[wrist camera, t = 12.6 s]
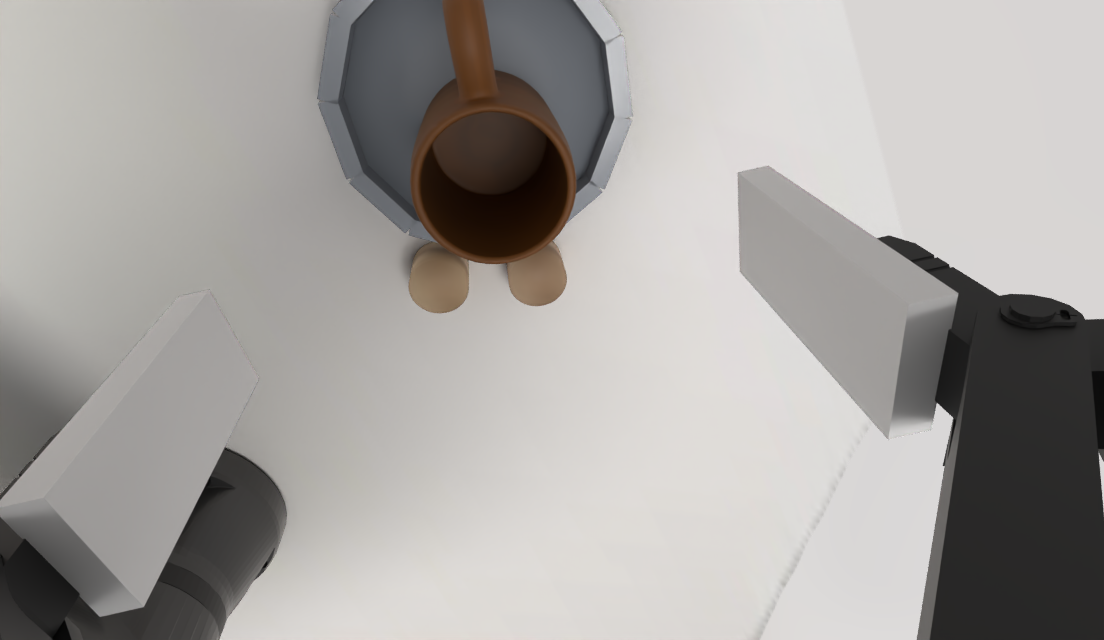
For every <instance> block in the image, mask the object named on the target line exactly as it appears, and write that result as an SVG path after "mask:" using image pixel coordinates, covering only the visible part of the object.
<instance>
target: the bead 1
mask: <svg viewBox="0 0 1104 640" xmlns="http://www.w3.org/2000/svg"><path fill="white" fill-rule="evenodd" d="M468 289H469V264H468V260H467V259H464V258H462V257H459V256H457V255H455V254H453V253H451V252H450V251H448V250H447V249H445V248H444V247H442V246H441V245H440V244H439V243H436V242H431V243H428V244H426V245H424V246H423V247H421V248H420V249H419V250H418V251H417V253H416V254H415V256H414V259H413V264H412V269H411V274H410V279H409V292H410V295H411V297H412V299H413V301H414V302H415V303H416V304H417V305H418V306H419V307H421V308H422V309H424V310H426V311H429V312H433V313H446V312H450V311H453V310H455V309H457V308H458V307H459V306H460V305H462V303H463V302H464V301H465V299H466V297H467V295H468Z"/></svg>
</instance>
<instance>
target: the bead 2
mask: <svg viewBox="0 0 1104 640" xmlns="http://www.w3.org/2000/svg"><path fill="white" fill-rule="evenodd" d="M507 271H508V280H509V287H510V290H511V292H512V294H513V295H514V296H515V298H516V299H518V300H519V301H520V302H522V303H524V304H527V305H531V306H542V305H546V304H549V303H551V302H553V301H555V300H556V299H557V298H558V297H559V296H560V295H561V294H562V292H563V291H564V289H565V286H566V282H567V276H566V271H565V268H564V265H563V262H562V258H561V255H560V252H559V249H558V247H557V246H556V245H555V243H554V242H553V241H552V242H551V243H549V244H548V245H547V246H546V247H545V248H543V249H542V250H540V251H539V252H537V253H535V254H533V255H531V256H529V257H527V258H524V259H521V260H519V261H515V262H510V263H507Z"/></svg>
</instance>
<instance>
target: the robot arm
mask: <svg viewBox="0 0 1104 640" xmlns="http://www.w3.org/2000/svg"><path fill="white" fill-rule="evenodd" d="M738 211H739V256H740V272H741V274H742V275H743V276H744V277H745V278H746V279H747V280H748V281H749V283H750V284H751V285H752V286H753V287H754V288H755V289H756V291H757V292H758V293H759V294H760V295H761V296H762V297H763V298H764V300H765V301H766V302H767V303H768V304H769V305H770V306H771V308H772V309H773V310H774V311H775V312H776V313H777V314H778V315H779V317H780V318H781V319H782V320H783V321H784V322H785V323H786V325H787V326H788V327H789V328H790V329H791V330H792V331H793V332H794V334H795V335H796V336H797V337H798V338H799V339H800V340H801V342H802V343H803V344H804V345H805V346H806V347H807V348H808V349H809V351H810V352H811V353H812V354H813V355H814V356H815V357H816V358H817V360H818V361H819V362H820V363H821V364H822V365H823V366H824V368H825V369H826V370H827V371H828V372H829V373H830V374H831V375H832V377H833V378H834V379H835V380H836V381H837V382H838V383H839V385H840V386H841V387H842V388H843V389H844V390H845V391H846V392H847V394H848V395H849V396H850V397H851V398H852V399H853V400H854V402H855V403H856V404H857V405H858V406H859V407H860V408H861V409H862V411H863V412H864V413H865V414H866V415H867V416H868V417H869V419H870V420H871V421H872V422H873V423H874V424H875V425H876V426H877V428H878V429H879V430H880V431H881V432H882V433H883V434H884V435H885V437H886V438H887V439H893V438H898V437H902V436H907V435H911V434H916V433H920V432H925V431H929V430H931V428H932V423H933V418H934V414H935V408H936V404H937V403H938V404H939V405H940V406H942V408H943V409H945V410H946V411H947V412H948V413H949V414H950V415H951V416H952V417H953V422H952V427H951V431H950V436H949V440H948V445H947V450H946V454H945V459H944V463H943V466H945V468H944V474H943V480H942V487H941V493H940V499H939V505H938V512H937V518H936V524H935V530H934V536H933V542H932V548H931V555H930V561H929V567H928V573H927V580H926V586H925V592H924V599H923V604H922V611H921V617H920V623H919V630H918V635H917V640H1104V512H1103V500H1102V490H1101V477H1100V466H1099V454H1098V452H1099V453H1100V455H1101V457H1102V459H1103V461H1104V319H1094V320H1085V319H1084V317H1083V315H1082V314H1081V313H1080V312H1078V311H1077V310H1075V309H1074V308H1073V307H1071V306H1070V305H1067V304H1065V303H1062V302H1059V301H1056V300H1054V299H1051V298H1045V297H1040V296H1035V295H1025V294H1024V295H1023V294H1008V295H1002V296H999V295H997V294H995V293H994V292H992V291H991V290H989V289H987V288H986V287H984V286H983V285H981V284H979V283H978V282H976V281H975V280H973V279H971V278H970V277H968V276H967V275H965V274H963V273H962V272H960V271H958V270H957V269H955V268H954V267H952V268H950V267H949V264H947V263H946V262H944V261H942V260H941V259H939V258H938V257H937V258H934V255H933V254H931V253H930V252H928V251H926V250H925V249H923V248H922V247H920V246H918V245H917V244H915V243H912V242H909V241H905V240H902V239H899V238H896V237H892V236H885V237H880V238H875V237H874V236H872V235H871V234H869V233H868V232H866V231H865V230H863V229H862V228H860V227H859V226H857V225H856V224H854V223H853V222H851V221H850V220H848V219H847V218H846V217H844V216H843V215H841V214H840V213H838V212H837V211H835V210H834V209H832V208H831V207H829V206H828V205H826V204H825V203H823V202H822V201H820V200H819V199H817V198H816V197H814V196H813V195H811V194H810V193H808V192H807V191H805V190H804V189H802V188H801V187H799V186H798V185H796V184H795V183H793V182H792V181H790V180H789V179H787V178H786V177H784V176H783V175H781V174H780V173H778V172H777V171H775V170H774V169H772V168H771V167H769V166H765V167H760V168H756V169H751V170H747V171H742V172H738ZM258 381H259V377H258V375H257V373H256V372H255V370H254V368H253V366H252V364H251V363H250V361H249V359H248V357H247V355H246V354H245V352H244V350H243V348H242V346H241V345H240V343H239V341H238V339H237V337H236V336H235V334H234V332H233V330H232V328H231V327H230V325H229V323H228V321H227V319H226V318H225V316H224V314H223V312H222V311H221V309H220V307H219V305H218V303H217V302H216V300H215V298H214V296H213V294H212V293H211V291H210V290H205V291H201V292H196V293H192V294H187V295H183V296H179V297H178V298H177V299H176V300H175V301H174V302H173V303H172V305H171V306H170V307H169V308H168V309H167V310H166V311H165V313H164V314H163V315H162V316H161V317H160V318H159V319H158V321H157V322H156V323H155V324H154V325H153V326H152V327H151V329H150V330H149V331H148V332H147V333H146V334H145V335H144V337H143V338H142V339H141V340H140V341H139V342H138V343H137V345H136V346H135V347H134V348H133V349H132V350H131V351H130V353H129V354H128V355H127V356H126V357H125V358H124V359H123V361H122V362H121V363H120V364H119V365H118V366H117V367H116V369H115V370H114V371H113V372H112V373H111V374H110V375H109V377H108V378H107V379H106V380H105V381H104V382H103V383H102V385H101V386H100V387H99V388H98V389H97V390H96V391H95V393H94V394H93V395H92V396H91V397H90V398H89V399H88V401H87V402H86V403H85V404H84V405H83V406H82V407H81V409H80V410H79V411H78V412H77V413H76V414H75V415H74V417H73V418H72V419H71V420H70V421H69V422H68V423H67V424H66V426H65V427H64V428H63V429H62V430H61V431H59V432H58V433H57V434H55V435H54V436H53V437H51V438H50V439H49V441H48V442H47V443H46V444H45V445H44V446H43V447H42V449H41V450H40V451H39V452H38V453H37V454H36V455H35V456H34V461H31V462H29V463H28V464H27V465H26V467H25V468H24V469H23V470H22V471H21V472H20V473H19V478H15V479H14V480H13V481H12V482H11V484H10V485H9V486H8V487H7V488H6V489H5V490H4V492H3V493H2V494H1V495H0V640H219V639H220V636H221V633H222V631H223V628H224V625H225V623H226V620H227V618H228V617H229V615H230V614H231V613H232V611H233V610H234V609H235V607H236V606H237V605H238V603H239V602H240V601H241V599H242V598H243V596H244V595H245V593H246V592H247V590H248V589H249V587H250V585H251V584H252V582H253V581H254V580H255V579H256V578H258V577H259V576H260V575H261V574H262V573H263V572H264V571H265V569H266V568H267V567H268V566H269V564H270V563H271V561H272V560H273V558H274V556H275V554H276V552H277V550H278V547H279V544H280V541H281V538H282V535H283V532H284V529H285V525H286V509H285V504H284V501H283V499H282V496H281V494H280V493H279V491H278V489H277V488H276V486H275V485H274V484H273V482H272V481H271V480H270V479H269V478H268V477H267V476H266V475H265V474H264V473H263V472H262V471H261V470H259V469H258V468H257V467H256V466H254V465H253V464H251V463H250V462H248V461H247V460H245V459H244V458H242V457H240V456H238V455H236V454H234V453H232V452H230V451H227V450H225V449H224V448H225V446H226V444H227V442H228V440H229V438H230V436H231V434H232V432H233V430H234V428H235V426H236V424H237V422H238V420H239V418H240V416H241V414H242V412H243V410H244V408H245V406H246V404H247V402H248V400H249V398H250V396H251V394H252V392H253V390H254V388H255V386H256V384H257V383H258Z"/></svg>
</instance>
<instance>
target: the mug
mask: <svg viewBox="0 0 1104 640" xmlns="http://www.w3.org/2000/svg"><path fill="white" fill-rule="evenodd" d="M442 6H443V14H444V20H445V26H446V32H447V37H448V42H449V47H450V52H451V57H452V62H453V67H454V71H455V76H456V78H455V79H453V80H451V81H450V82H449V83H447V84H446V85H445V86H444V87H443V88H442V89H441V90H440V91H439V92H438V93H437V94H436V95H435V97H434V98H433V99H432V101H431V103H430V104H429V106H428V108H427V110H426V113H425V115H424V118H423V121H422V124H421V126H420V129H419V132H418V135H417V138H416V142H415V145H414V149H413V153H412V158H411V167H410V189H411V196H412V202H413V205H414V208H415V211H416V213H417V215H418V217H419V220H420V222H421V223H422V225H423V226H424V228H425V229H426V231H427V232H428V233H429V234H430V235H431V237H432V238H433V239H434V240H435V241H437V242H438V243H439V244H440V245H441V246H442V247H444V248H445V249H447V250H448V251H450V252H451V253H453V254H455V255H457V256H459V257H462V258H464V259H467V260H470V261H474V262H478V263H485V264H503V263H510V262H515V261H519V260H521V259H524V258H527V257H529V256H531V255H533V254H535V253H537V252H539V251H540V250H542V249H543V248H545V247H546V246H547V245H548V244H549V243H551V242H552V241H553V240H554V239H555V237H556V236H557V235H558V234H559V233H560V232H561V230H562V229H563V227H564V226H565V224H566V222H567V220H568V219H569V217H570V214H571V211H572V209H573V206H574V201H575V197H576V173H575V167H574V162H573V158H572V154H571V151H570V147H569V144H568V142H567V140H566V138H565V136H564V133H563V131H562V130H561V128H560V126H559V124H558V122H557V120H556V119H555V117H554V115H553V114H552V112H551V110H550V109H549V107H548V105H547V104H546V102H545V101H544V99H543V98H542V97H541V96H540V94H539V93H538V92H537V91H536V90H535V89H534V88H533V87H532V86H530V85H529V84H528V83H526V82H525V81H524V80H522V79H520V78H518V77H516V76H514V75H512V74H509V73H506V72H502V71H497V70H494V64H493V57H492V51H491V45H490V38H489V32H488V25H487V19H486V13H485V7H484V1H483V0H442Z"/></svg>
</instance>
